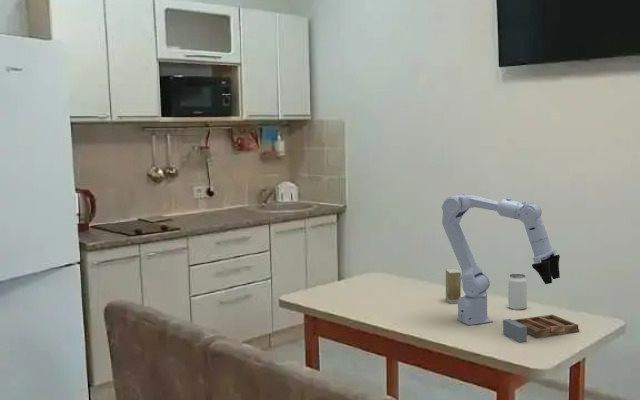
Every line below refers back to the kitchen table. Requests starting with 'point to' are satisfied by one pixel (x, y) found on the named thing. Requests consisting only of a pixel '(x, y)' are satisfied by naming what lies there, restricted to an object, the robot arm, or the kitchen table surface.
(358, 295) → the kitchen table surface
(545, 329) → the rack
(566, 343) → the kitchen table surface
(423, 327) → the kitchen table surface
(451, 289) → the skincare box
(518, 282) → the can
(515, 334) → the blue-gray rectangular block
